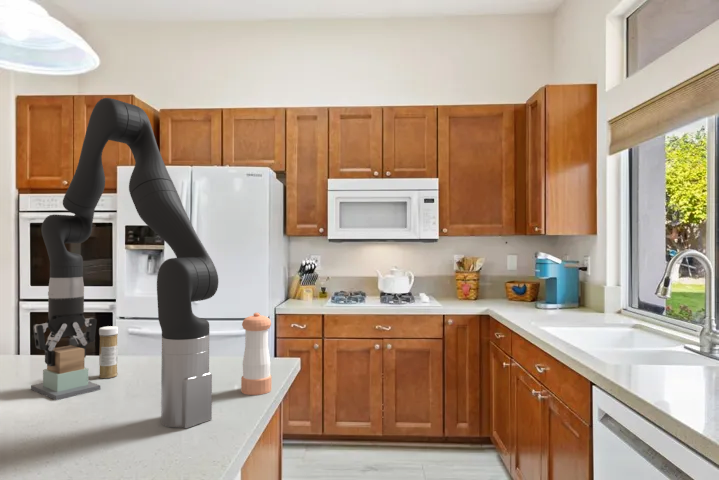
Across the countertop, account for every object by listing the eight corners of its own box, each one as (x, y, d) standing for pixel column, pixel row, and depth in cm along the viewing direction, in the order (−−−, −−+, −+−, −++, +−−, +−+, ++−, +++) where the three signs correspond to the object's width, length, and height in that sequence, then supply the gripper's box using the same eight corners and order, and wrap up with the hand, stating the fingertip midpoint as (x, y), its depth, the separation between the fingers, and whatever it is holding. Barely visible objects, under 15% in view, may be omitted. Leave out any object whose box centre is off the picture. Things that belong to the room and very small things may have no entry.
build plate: (100, 389, 118) (100, 369, 118) (56, 400, 110) (56, 378, 110) (74, 380, 126) (74, 361, 126) (30, 389, 118) (31, 369, 118)
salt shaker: (277, 390, 118) (277, 312, 118) (252, 397, 112) (252, 315, 113) (260, 384, 123) (260, 309, 123) (235, 390, 117) (235, 312, 118)
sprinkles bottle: (103, 374, 132) (103, 325, 132) (120, 374, 132) (120, 325, 132) (95, 379, 127) (96, 328, 127) (113, 378, 128) (114, 328, 128)
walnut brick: (84, 368, 118) (84, 348, 118) (59, 373, 114) (60, 352, 114) (71, 364, 123) (71, 345, 123) (47, 369, 118) (47, 349, 118)
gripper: (40, 299, 110) (39, 371, 110) (103, 293, 122) (103, 359, 122) (27, 297, 115) (26, 366, 115) (89, 292, 126) (88, 355, 126)
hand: (65, 362), depth 118 cm, fingers open, 6 cm apart
